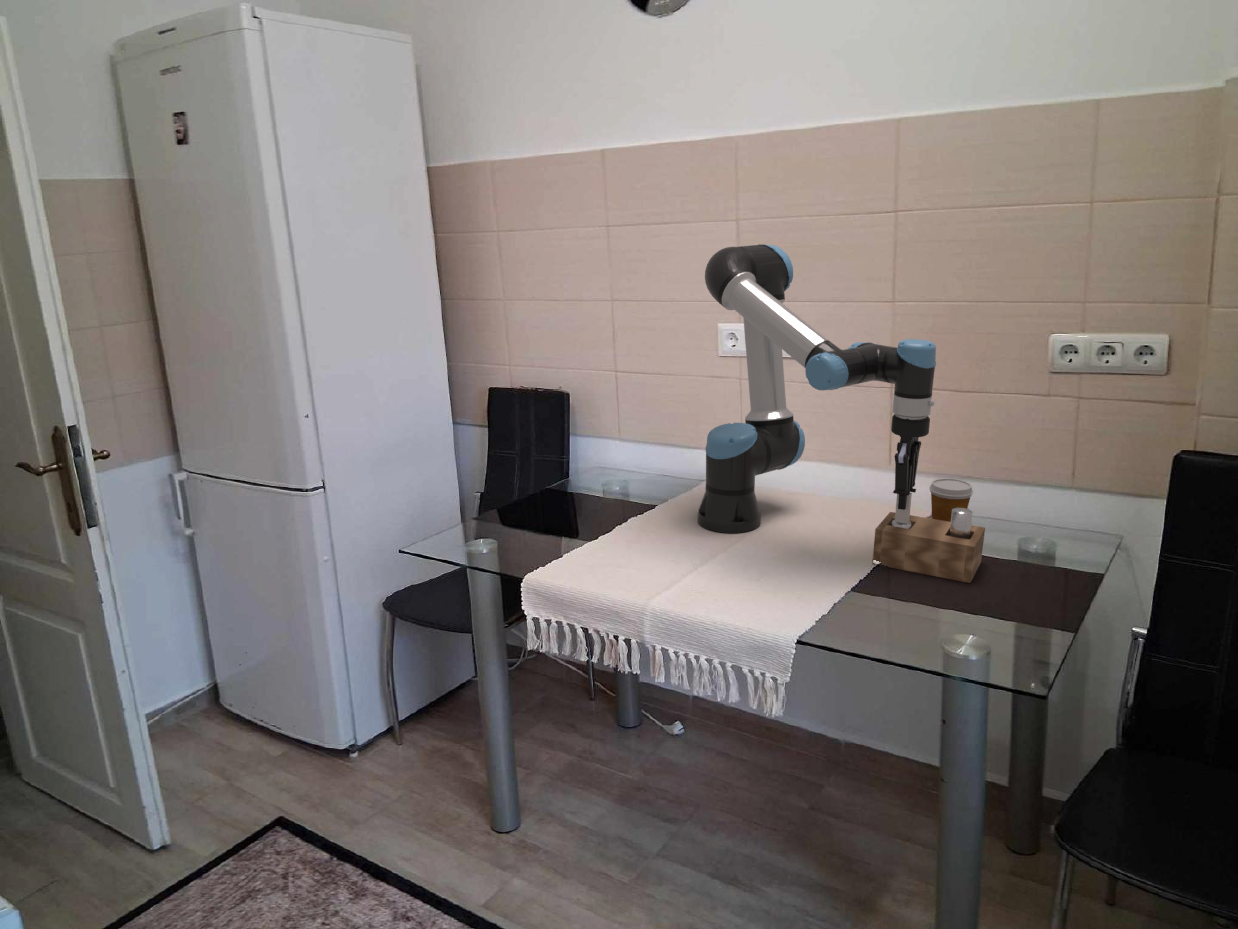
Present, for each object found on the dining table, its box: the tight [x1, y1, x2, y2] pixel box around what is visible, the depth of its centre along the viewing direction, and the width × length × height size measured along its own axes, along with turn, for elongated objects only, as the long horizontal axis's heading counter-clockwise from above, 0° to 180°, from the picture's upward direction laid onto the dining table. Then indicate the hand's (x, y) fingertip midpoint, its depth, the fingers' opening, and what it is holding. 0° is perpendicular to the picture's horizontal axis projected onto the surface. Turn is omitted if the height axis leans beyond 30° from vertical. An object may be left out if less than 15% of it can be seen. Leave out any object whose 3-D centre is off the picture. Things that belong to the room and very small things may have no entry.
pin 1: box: [892, 520, 911, 529], centre depth 197 cm, size 4×4×7 cm
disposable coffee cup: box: [928, 477, 974, 522], centre depth 210 cm, size 10×10×12 cm
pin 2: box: [949, 508, 973, 539], centre depth 189 cm, size 4×4×7 cm
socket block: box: [872, 511, 986, 584], centre depth 194 cm, size 20×12×8 cm, turn 59°
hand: (901, 521), depth 195 cm, fingers closed
